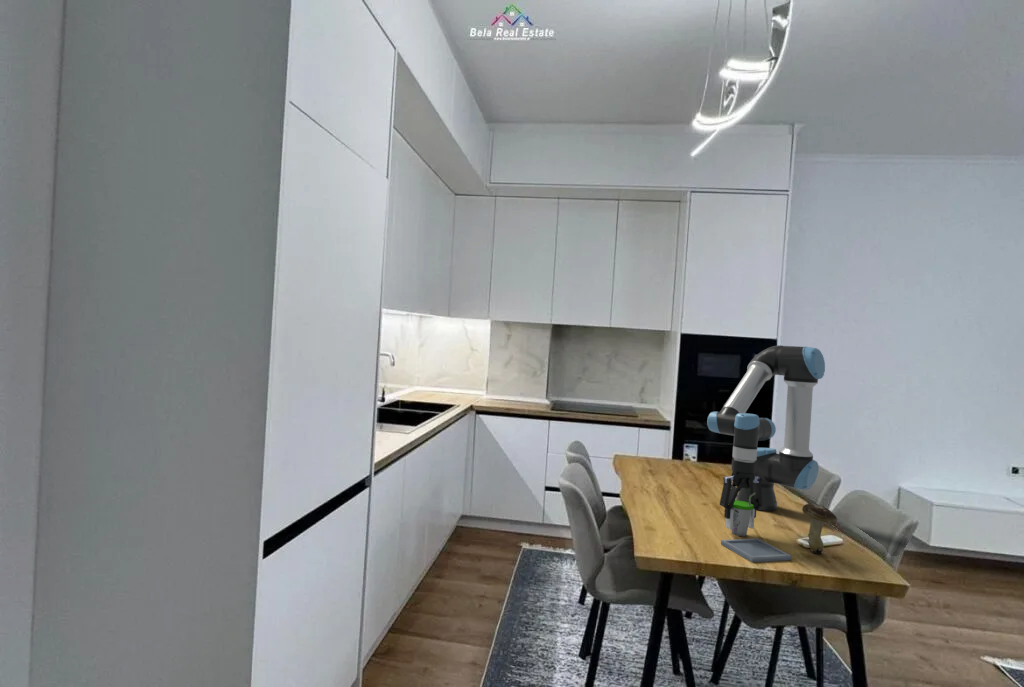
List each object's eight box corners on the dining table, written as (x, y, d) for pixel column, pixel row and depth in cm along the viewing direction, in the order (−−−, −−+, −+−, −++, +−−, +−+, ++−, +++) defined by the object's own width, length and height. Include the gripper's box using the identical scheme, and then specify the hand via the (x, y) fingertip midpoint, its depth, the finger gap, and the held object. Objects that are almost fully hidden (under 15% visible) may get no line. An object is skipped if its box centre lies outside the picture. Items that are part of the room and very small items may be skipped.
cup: (721, 531, 190) (724, 486, 190) (738, 529, 193) (741, 486, 193) (739, 539, 183) (742, 493, 183) (756, 537, 186) (760, 492, 186)
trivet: (758, 542, 181) (758, 538, 181) (790, 560, 167) (791, 555, 167) (720, 544, 177) (721, 539, 177) (751, 562, 163) (751, 557, 163)
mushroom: (793, 546, 179) (796, 500, 179) (818, 547, 180) (822, 501, 180) (811, 558, 170) (815, 509, 170) (838, 559, 170) (842, 510, 170)
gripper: (761, 457, 194) (757, 523, 195) (710, 457, 189) (706, 524, 189) (777, 462, 187) (772, 530, 187) (725, 462, 181) (720, 532, 182)
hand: (739, 527), depth 188 cm, fingers closed on cup, 8 cm apart
